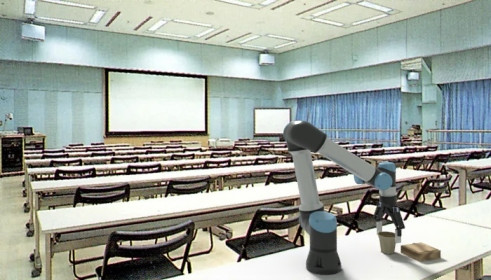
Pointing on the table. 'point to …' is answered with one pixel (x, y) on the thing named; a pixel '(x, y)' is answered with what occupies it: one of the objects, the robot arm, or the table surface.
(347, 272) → the table surface
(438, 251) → the plinth
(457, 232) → the table surface
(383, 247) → the flower pot
